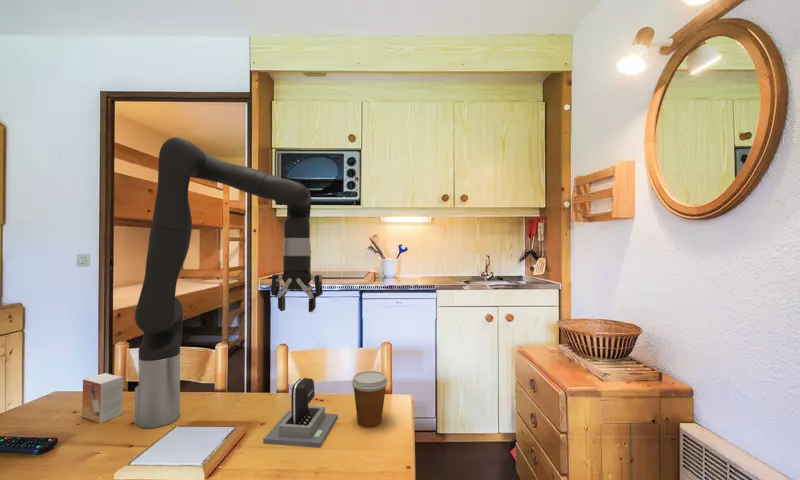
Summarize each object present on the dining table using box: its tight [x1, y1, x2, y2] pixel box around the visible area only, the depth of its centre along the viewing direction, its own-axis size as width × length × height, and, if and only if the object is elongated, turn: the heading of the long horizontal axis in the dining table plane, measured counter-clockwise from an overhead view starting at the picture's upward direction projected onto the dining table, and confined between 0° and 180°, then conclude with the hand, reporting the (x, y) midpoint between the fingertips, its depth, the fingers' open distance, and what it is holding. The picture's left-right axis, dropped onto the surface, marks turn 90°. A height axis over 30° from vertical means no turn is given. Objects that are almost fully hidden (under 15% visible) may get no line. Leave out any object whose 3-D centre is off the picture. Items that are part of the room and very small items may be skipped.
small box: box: [81, 372, 124, 424], centre depth 98 cm, size 8×6×10 cm
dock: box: [262, 405, 339, 448], centre depth 91 cm, size 14×14×4 cm
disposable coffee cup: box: [351, 370, 388, 429], centre depth 95 cm, size 10×10×12 cm
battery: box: [290, 377, 316, 425], centre depth 91 cm, size 7×4×11 cm, turn 172°
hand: (296, 311), depth 101 cm, fingers open, 8 cm apart
